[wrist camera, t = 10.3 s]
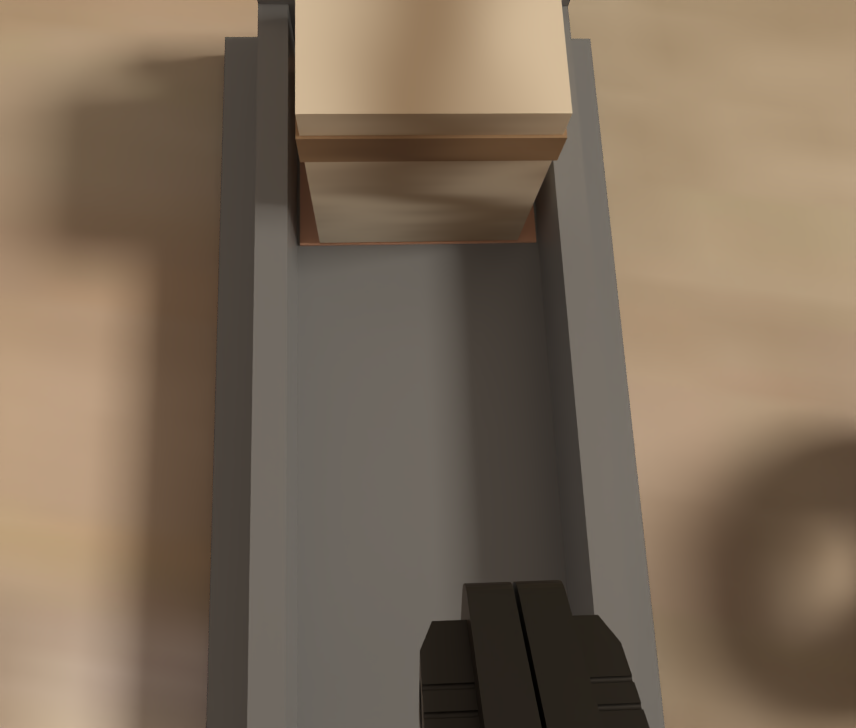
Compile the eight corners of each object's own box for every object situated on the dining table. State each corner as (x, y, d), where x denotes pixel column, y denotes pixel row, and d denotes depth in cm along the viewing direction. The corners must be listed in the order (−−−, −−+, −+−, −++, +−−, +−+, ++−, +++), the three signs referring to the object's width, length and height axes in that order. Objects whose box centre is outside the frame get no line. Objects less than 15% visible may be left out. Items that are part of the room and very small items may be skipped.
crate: (507, 66, 29) (553, -114, 21) (520, 242, 27) (576, 116, 19) (315, 66, 28) (291, -119, 21) (317, 245, 27) (291, 117, 19)
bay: (583, 55, 31) (621, -40, 26) (658, 764, 24) (727, 815, 19) (230, 53, 30) (201, -45, 25) (211, 792, 23) (167, 854, 18)
